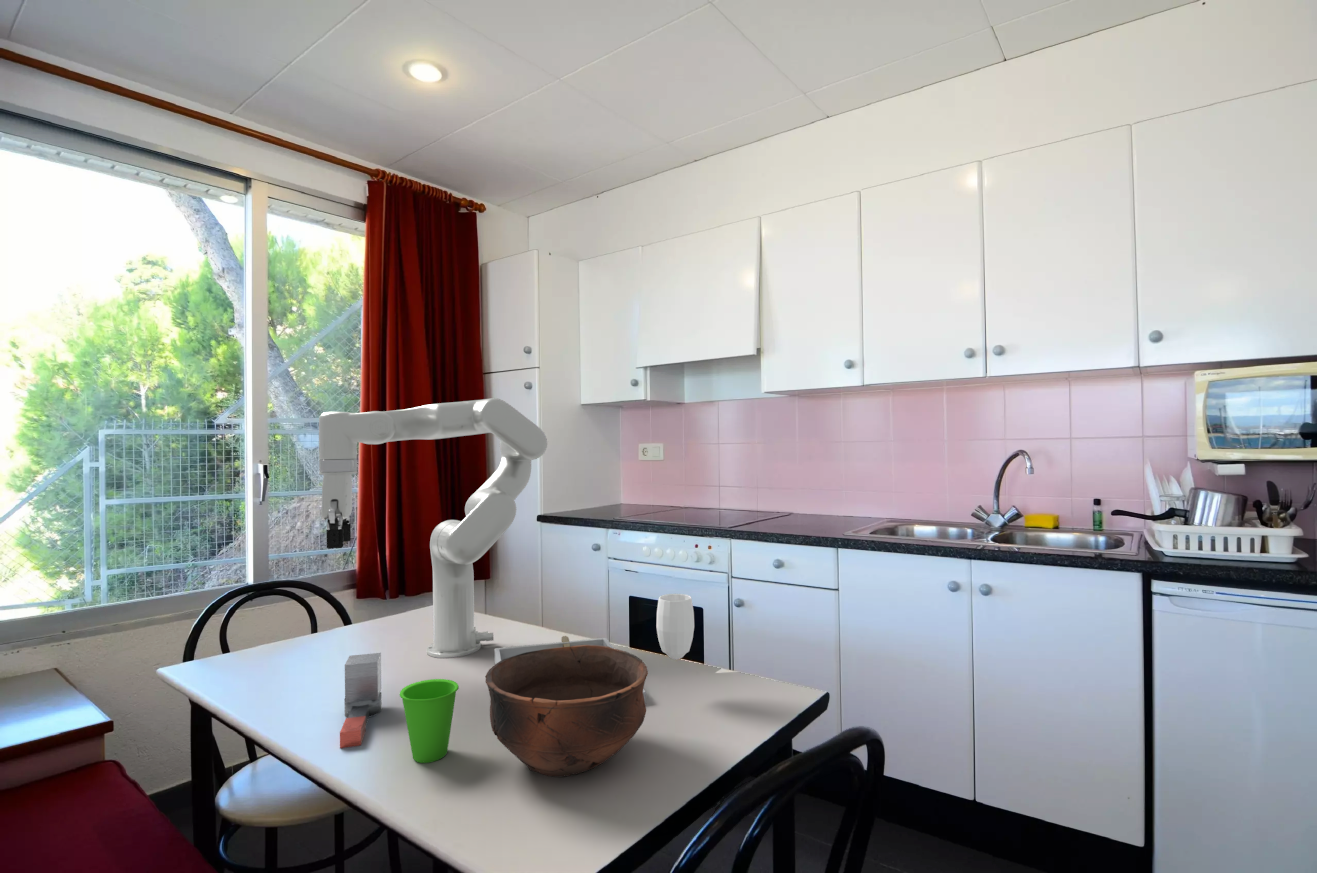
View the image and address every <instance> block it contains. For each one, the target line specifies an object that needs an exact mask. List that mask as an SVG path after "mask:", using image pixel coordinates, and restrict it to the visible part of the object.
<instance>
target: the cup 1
mask: <svg viewBox="0 0 1317 873" xmlns="http://www.w3.org/2000/svg"><path fill="white" fill-rule="evenodd" d="M459 689H460V688H459V684H458V683H457V681H454V680H450V679H446V678H445V679H443V678H435V679H424V680H420V681H416V682H413V683H410V684H408V685H406V686H404V687H403V688H402V689H401V690H400V691H399V697H400V698H401V699H402V704H403V705H402V706H403V710H404V715H405V716H404V717H405V721H406V726H407V733H408V738H409V742H410V750H411V755H412V758H413V760H414V761H415V762H416V763H420V764H429V763H433V762H438V761H439V760H442V758H444V757H445V756H446V755H447V753H448V749H449V743H450V737H451V728H452V721H453V713H454V708H455V700H456V695H457V691H458V690H459Z"/></svg>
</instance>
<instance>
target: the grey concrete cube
mask: <svg viewBox="0 0 1317 873" xmlns="http://www.w3.org/2000/svg"><path fill="white" fill-rule="evenodd" d="M380 692H382V652H376V653H375V652H373V653H364V654H355V655H349V656H348V657H347V660H346V662H345V664H344V699H345V703H351V702H360V701H368V700H377V699H378V698H379V695H380Z"/></svg>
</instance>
